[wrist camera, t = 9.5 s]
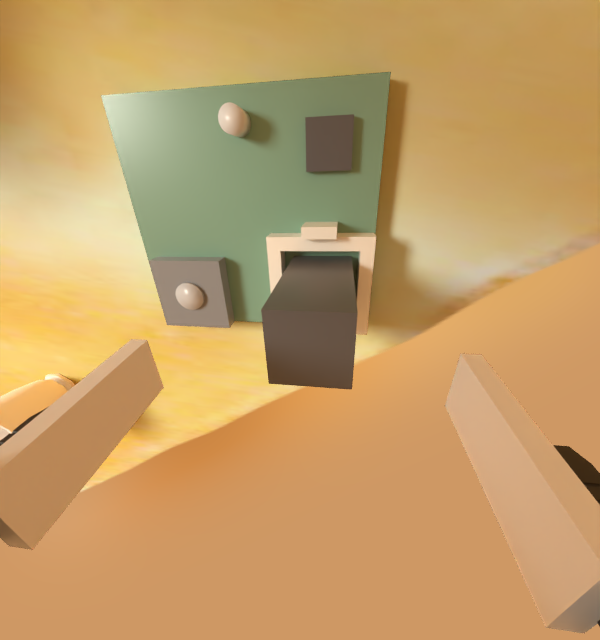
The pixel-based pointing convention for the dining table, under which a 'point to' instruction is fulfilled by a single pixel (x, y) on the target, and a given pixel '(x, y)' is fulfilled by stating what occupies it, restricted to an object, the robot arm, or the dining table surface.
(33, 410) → the cup
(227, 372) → the dining table surface
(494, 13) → the dining table surface
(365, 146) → the board
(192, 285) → the grey push button
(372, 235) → the frame
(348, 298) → the plug
